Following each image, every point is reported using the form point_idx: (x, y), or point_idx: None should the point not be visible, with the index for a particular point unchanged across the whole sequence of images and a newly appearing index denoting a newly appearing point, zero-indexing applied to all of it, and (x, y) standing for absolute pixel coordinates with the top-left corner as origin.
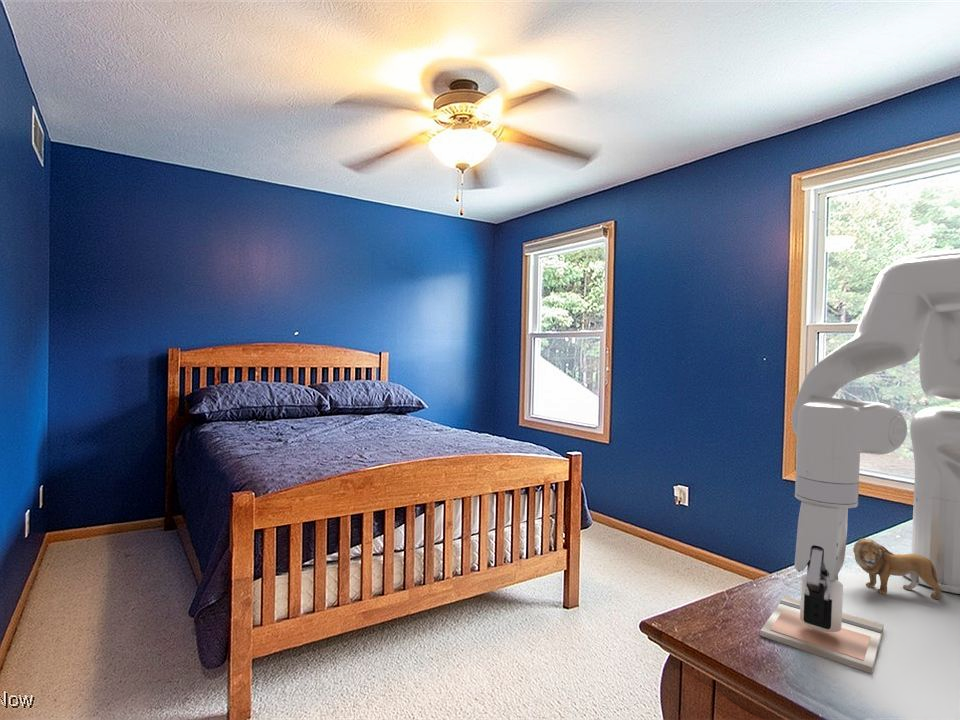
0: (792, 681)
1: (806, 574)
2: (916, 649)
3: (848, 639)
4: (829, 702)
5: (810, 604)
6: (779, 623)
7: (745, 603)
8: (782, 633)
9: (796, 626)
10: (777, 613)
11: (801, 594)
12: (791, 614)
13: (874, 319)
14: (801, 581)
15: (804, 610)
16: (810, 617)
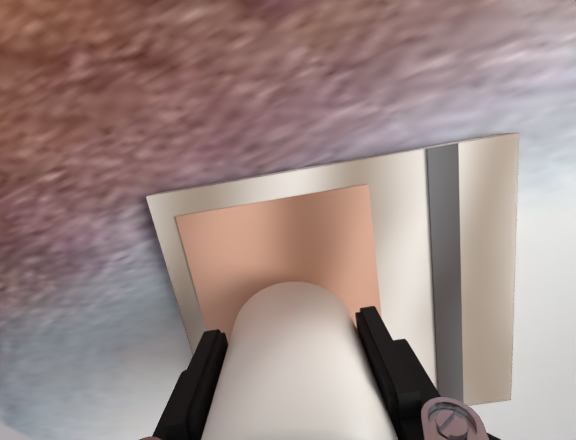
0: (13, 337)
1: (338, 438)
2: None
3: None
4: (17, 406)
5: (163, 420)
6: (245, 219)
7: (358, 39)
8: (184, 252)
9: (274, 261)
10: (325, 180)
11: (245, 359)
12: (354, 217)
13: None
14: (249, 411)
15: (191, 360)
16: (184, 373)
